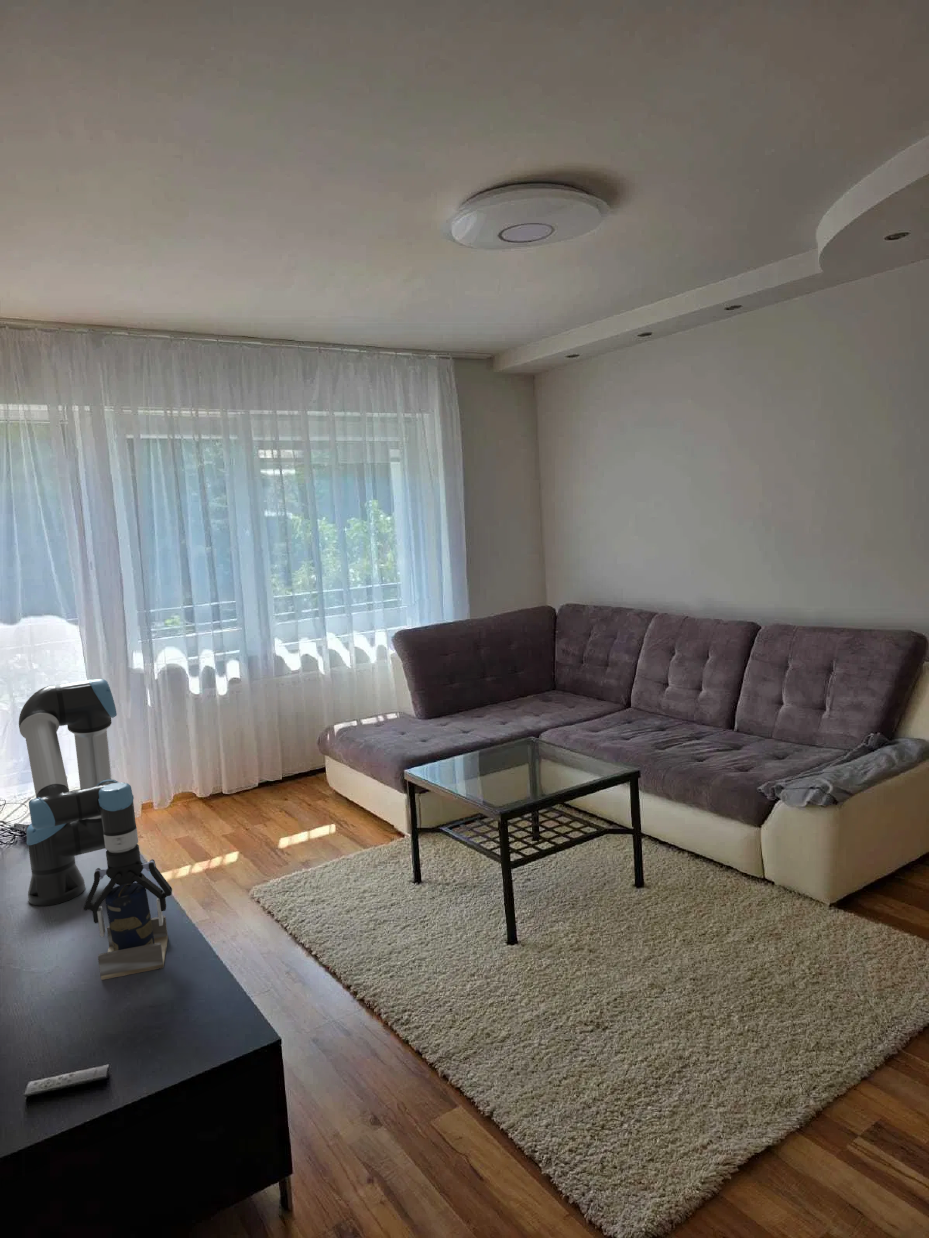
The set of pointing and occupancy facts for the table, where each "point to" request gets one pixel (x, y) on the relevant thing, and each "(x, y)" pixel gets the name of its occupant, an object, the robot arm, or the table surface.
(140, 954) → the keeper cradle
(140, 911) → the canister
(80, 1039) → the table surface
